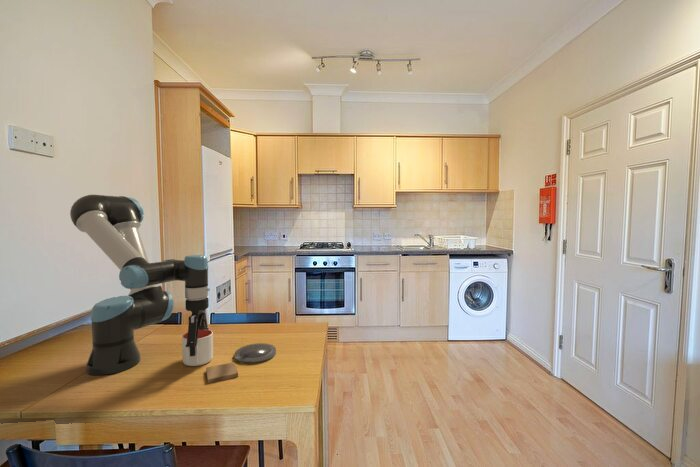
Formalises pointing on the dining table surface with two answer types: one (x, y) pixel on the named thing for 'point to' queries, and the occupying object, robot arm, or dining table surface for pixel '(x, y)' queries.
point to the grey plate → (255, 353)
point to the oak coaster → (221, 372)
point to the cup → (199, 347)
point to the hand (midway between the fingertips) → (198, 356)
